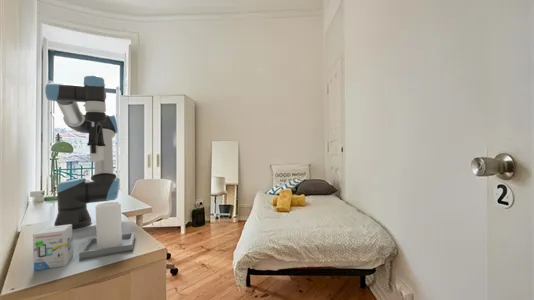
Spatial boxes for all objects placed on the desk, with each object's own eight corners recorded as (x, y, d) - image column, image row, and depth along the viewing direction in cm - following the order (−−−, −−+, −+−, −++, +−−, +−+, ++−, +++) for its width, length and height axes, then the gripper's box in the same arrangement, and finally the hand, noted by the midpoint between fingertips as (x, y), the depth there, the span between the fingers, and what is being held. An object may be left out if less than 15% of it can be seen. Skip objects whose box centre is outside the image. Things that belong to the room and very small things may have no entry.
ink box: (33, 271, 82) (31, 234, 82) (43, 261, 89) (42, 227, 89) (66, 265, 85) (65, 230, 85) (73, 256, 93) (72, 223, 93)
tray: (89, 244, 104) (89, 238, 104) (134, 237, 110) (134, 232, 110) (79, 259, 89) (78, 253, 89) (131, 251, 95) (131, 244, 95)
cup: (110, 250, 95) (109, 206, 95) (91, 249, 96) (89, 206, 96) (127, 242, 103) (125, 201, 103) (109, 241, 104) (107, 201, 104)
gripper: (91, 115, 124) (93, 160, 124) (77, 107, 101) (80, 162, 101) (110, 115, 127) (111, 159, 127) (100, 108, 104) (102, 161, 104)
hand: (97, 161), depth 114 cm, fingers open, 13 cm apart
